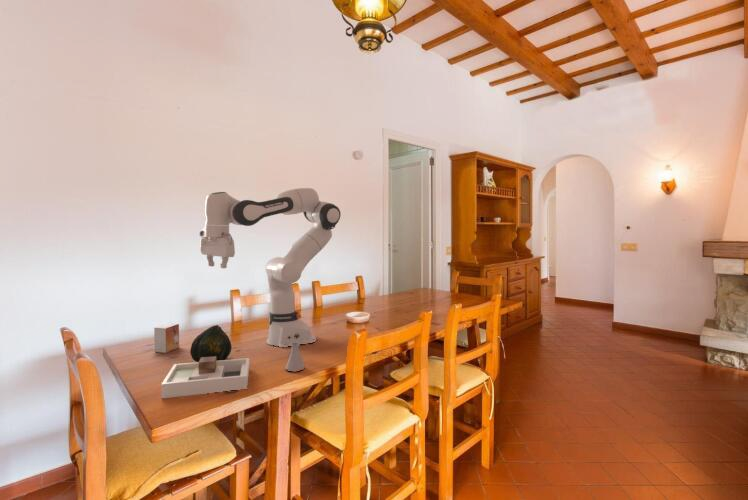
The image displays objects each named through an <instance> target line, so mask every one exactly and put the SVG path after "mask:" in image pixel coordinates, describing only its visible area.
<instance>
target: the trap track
mask: <svg viewBox="0 0 748 500" xmlns="http://www.w3.org/2000/svg"><path fill="white" fill-rule="evenodd" d="M249 375H250V358H249V357H247V358H246V357H245V358H234V359H225V360H219V361H216V370H215V373H205V374H199V362H196V361H194V362H184V363H183V362H182V363H174V364H173V365H172V367H171V368H170V370H169V371H168V373H167V375H166V376H165V377H164V379H163V381H162V382H161V384H160V386H161V387H160V389H161V396H160V397H161V399H168V398H178V397H188V396H198V395H199V396H200V395H208V394H207V393H209V394H215V393H214V392H219V393H224V392H223V391H228V392H231V391H230V390H238V391H241V390H240V389H247V390H248V387H247V386H248V385H249V378H248V377H249Z"/></svg>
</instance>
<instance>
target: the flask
mask: <svg viewBox="0 0 748 500" xmlns="http://www.w3.org/2000/svg"><path fill="white" fill-rule="evenodd" d="M291 346H292V347H290V348H291V350H290V354H289V356H288V360H287V362H286V365H285V368H284V370H285V369H287V370H288V371H297V370H301V369H303V368H304V367H305V368H306V366H305V363H304V361H303V358H302V354H301V351H300V346H301V345H300V343H298V342H293V343H291ZM288 371H287V372H288Z"/></svg>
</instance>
